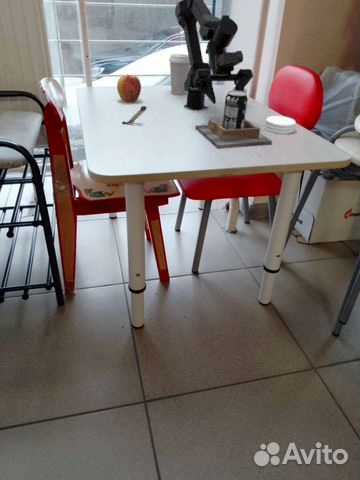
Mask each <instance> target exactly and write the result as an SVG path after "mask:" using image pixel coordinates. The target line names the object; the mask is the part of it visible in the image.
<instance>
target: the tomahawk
mask: <svg viewBox="0 0 360 480" xmlns="http://www.w3.org/2000/svg"><path fill="white" fill-rule="evenodd" d="M145 110H147V106H146V105H142V106H140V109H139V110H138V111H137V112H136V113H135V114H134V115H133V116H132V117H131V118H130V119H129V121H122V122H121V123H122V125H128V126H133V127H134V126H136V125H137V123H135V120H137V119H138V118H139V116H141V114H143V113H144V112H145Z"/></svg>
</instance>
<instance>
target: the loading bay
mask: <svg viewBox="0 0 360 480" xmlns="http://www.w3.org/2000/svg"><path fill="white" fill-rule="evenodd" d="M207 120H208V122H207V125H206V124H203V125H195V130H196V131H197V132H199V134H200V135H202V136H203V137H204V139H206V140H207V141H208V142H210V143H211V144H212V146H213V147H215V148H216V149H227V148H228V149H229V148H242V147H243V148H245V147H253V146H266V145H267V146H268V145H269V146H270V145H272V144H273V141H272V140H271V139H270V138H268V137H267V136H266V135H264V134H263V133H261V128H260V127H258V126H257V125H256V124H254V123H252V122H250V121H249V120H248V119H246V118H245V121H244V128H243V129H229V130H226V129H224V128H223V127H222V125H223V123H218V122H217V121H215V120H214V119H213V118H208V119H207Z"/></svg>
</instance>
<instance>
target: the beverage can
mask: <svg viewBox="0 0 360 480" xmlns="http://www.w3.org/2000/svg"><path fill="white" fill-rule="evenodd" d="M247 95H248V93H247V92H243V91H233V90H228V91H227V95H226V96H225V100H224V107H223V108H224V109H223V117H222V118H223V119H222V124H223V125H222V127H223V128H224V129H226V130H229V129H243V128H244V121H245V119H246V113H247V106H248V96H247Z"/></svg>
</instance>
